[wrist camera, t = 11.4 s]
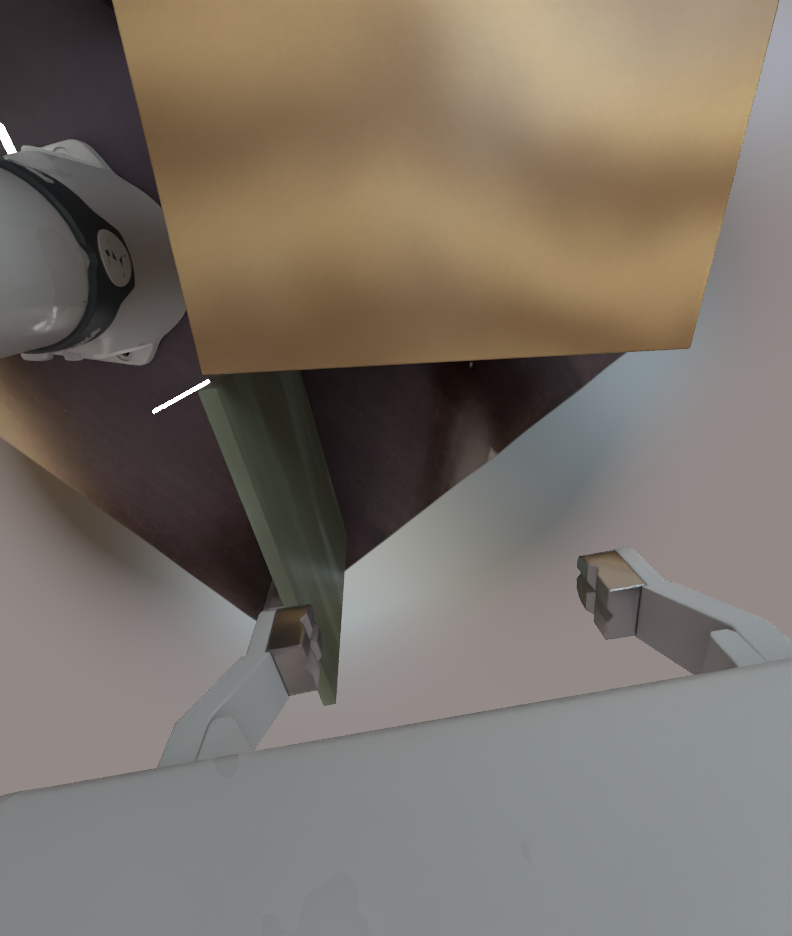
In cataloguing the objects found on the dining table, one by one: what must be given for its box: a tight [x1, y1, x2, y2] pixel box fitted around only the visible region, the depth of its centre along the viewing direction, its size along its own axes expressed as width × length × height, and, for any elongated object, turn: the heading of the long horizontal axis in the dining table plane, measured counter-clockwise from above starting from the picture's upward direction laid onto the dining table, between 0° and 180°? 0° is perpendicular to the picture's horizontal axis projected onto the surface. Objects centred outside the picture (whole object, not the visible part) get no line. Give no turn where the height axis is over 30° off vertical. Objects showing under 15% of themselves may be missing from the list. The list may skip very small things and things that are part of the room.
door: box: [198, 370, 347, 706], centre depth 38 cm, size 7×26×24 cm, turn 11°
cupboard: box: [112, 0, 779, 375], centre depth 29 cm, size 18×26×24 cm
